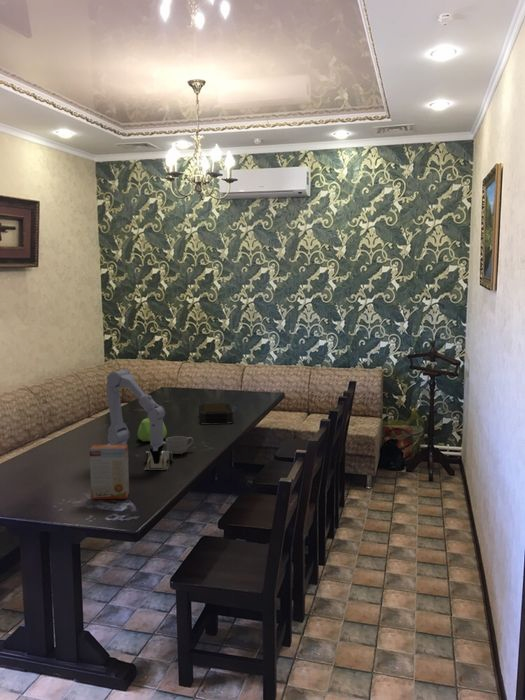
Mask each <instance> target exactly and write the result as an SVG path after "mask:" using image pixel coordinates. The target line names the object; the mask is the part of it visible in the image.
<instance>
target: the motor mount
mask: <svg viewBox="0 0 525 700" xmlns="http://www.w3.org/2000/svg"><path fill="white" fill-rule="evenodd" d="M161 455H163V466H162V468H151V456H152V454H151V452H150V450H145V451H144V462H146V464H145V467H144V470H164V469H168V467H169V466H167V465H169V464H170V465H171V463H168V461H171V462H173V459H174V458H173V457H174V455H173V450H170V451H167V450H162V452H161ZM167 463H168V464H167ZM169 468H170V467H169Z"/></svg>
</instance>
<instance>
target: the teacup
mask: <svg viewBox="0 0 525 700" xmlns="http://www.w3.org/2000/svg"><path fill="white" fill-rule="evenodd" d="M189 440H191V441H190V443H189ZM165 442H166V444H165V445H166V451H170V450H173V454H181V455H183V453H184V454H185V453H186V451H187V450H188V449H189V448H190V447H191V446H192V445H193V443H194V438H193V437H191V436H188V437H187V436H185V435H184V436H183V435H175V436H174V435H173V436H170V437H167V438H165ZM188 443H189V444H188Z"/></svg>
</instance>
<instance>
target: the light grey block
mask: <svg viewBox="0 0 525 700" xmlns="http://www.w3.org/2000/svg"><path fill="white" fill-rule="evenodd" d="M162 466H163V455H160V461H159V464H154V461H153V456H151V468H162Z"/></svg>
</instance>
